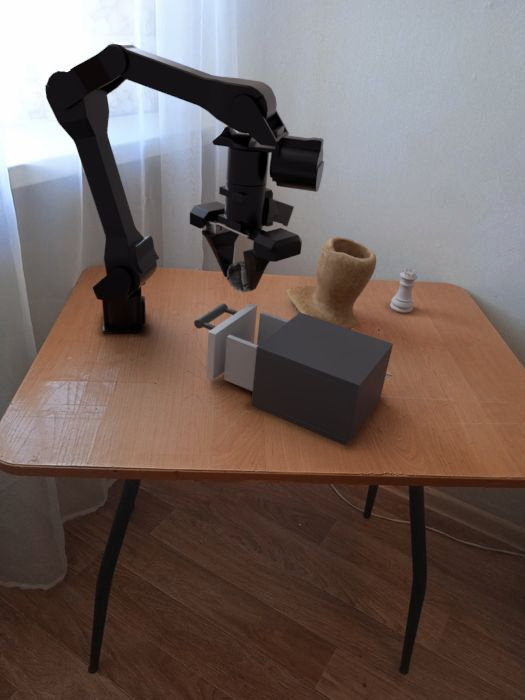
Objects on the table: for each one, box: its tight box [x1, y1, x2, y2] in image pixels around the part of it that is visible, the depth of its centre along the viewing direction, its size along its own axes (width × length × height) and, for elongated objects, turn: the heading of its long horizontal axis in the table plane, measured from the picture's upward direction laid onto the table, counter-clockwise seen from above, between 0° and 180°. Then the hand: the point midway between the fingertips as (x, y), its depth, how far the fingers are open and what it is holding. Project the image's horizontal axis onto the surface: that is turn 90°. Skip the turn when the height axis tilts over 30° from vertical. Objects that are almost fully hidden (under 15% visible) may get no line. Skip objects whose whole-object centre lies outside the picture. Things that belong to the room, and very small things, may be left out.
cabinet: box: [250, 312, 394, 446], centre depth 79 cm, size 15×13×10 cm
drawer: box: [193, 302, 290, 392], centre depth 83 cm, size 18×12×8 cm, turn 60°
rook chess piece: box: [389, 268, 418, 314], centre depth 108 cm, size 4×4×8 cm
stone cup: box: [286, 236, 377, 330], centre depth 101 cm, size 15×12×15 cm
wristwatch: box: [226, 260, 254, 293], centre depth 86 cm, size 3×5×5 cm
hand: (239, 282), depth 87 cm, fingers closed on wristwatch, 5 cm apart
